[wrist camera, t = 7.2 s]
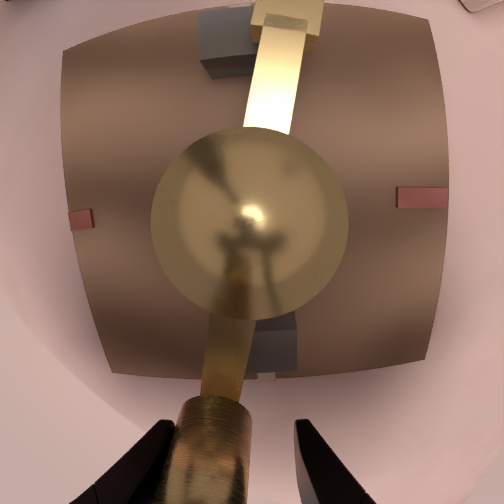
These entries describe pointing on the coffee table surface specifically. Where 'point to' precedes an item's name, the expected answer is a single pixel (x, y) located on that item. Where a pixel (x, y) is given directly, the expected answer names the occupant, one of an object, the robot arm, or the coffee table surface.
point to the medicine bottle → (478, 4)
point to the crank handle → (244, 249)
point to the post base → (301, 127)
